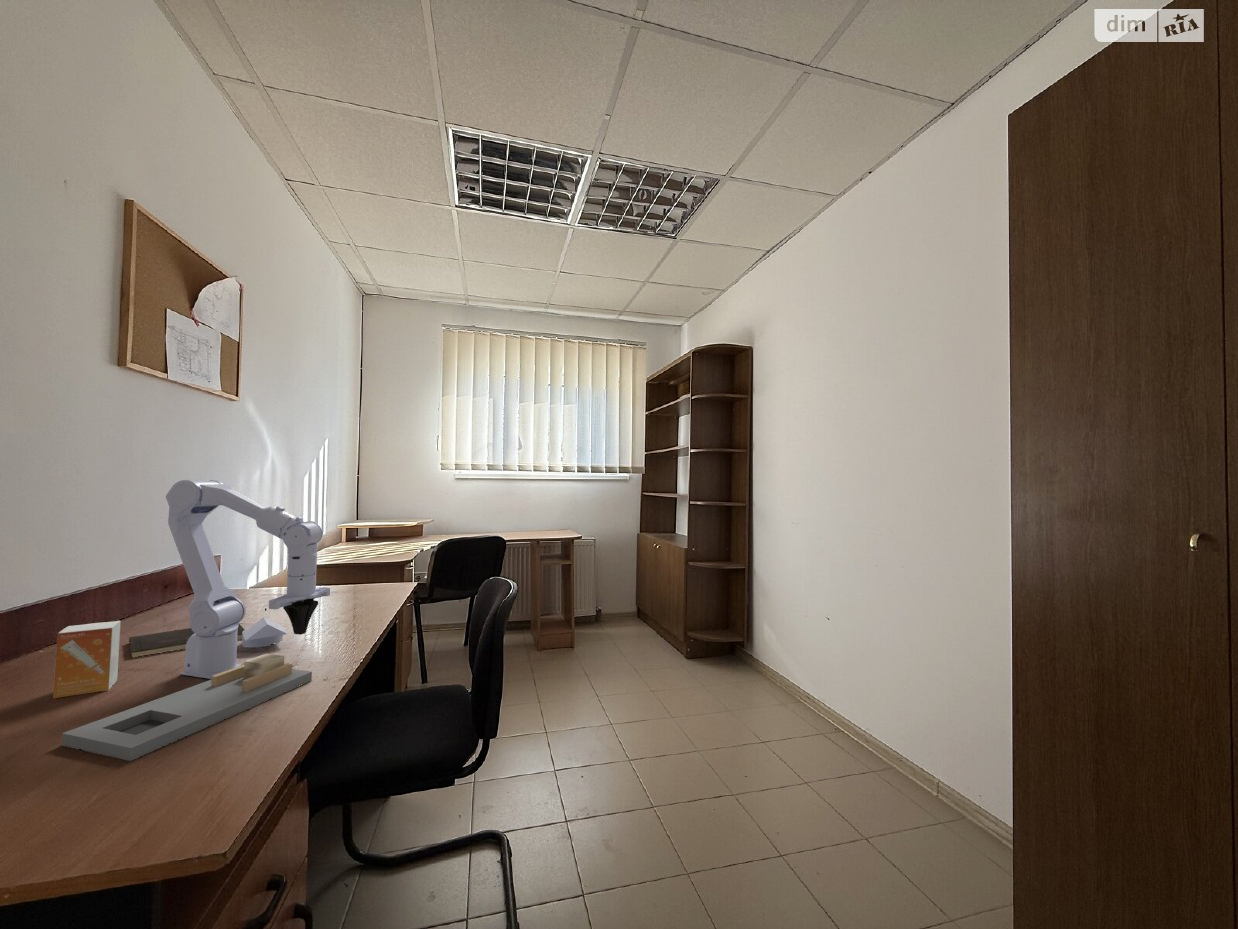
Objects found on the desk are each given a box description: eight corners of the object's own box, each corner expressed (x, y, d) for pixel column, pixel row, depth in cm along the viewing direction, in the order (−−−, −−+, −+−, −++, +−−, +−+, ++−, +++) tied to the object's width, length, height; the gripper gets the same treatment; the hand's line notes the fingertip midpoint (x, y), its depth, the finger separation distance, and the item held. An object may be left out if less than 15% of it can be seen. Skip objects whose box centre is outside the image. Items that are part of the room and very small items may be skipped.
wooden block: (243, 678, 106) (244, 661, 106) (265, 669, 111) (266, 653, 111) (262, 680, 104) (262, 663, 105) (283, 672, 109) (284, 656, 109)
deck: (61, 745, 82) (62, 720, 82) (255, 672, 114) (255, 655, 114) (130, 761, 78) (131, 735, 78) (311, 681, 110) (312, 662, 110)
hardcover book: (247, 641, 138) (247, 632, 138) (130, 661, 122) (131, 651, 122) (236, 628, 149) (236, 620, 149) (128, 645, 133) (129, 636, 133)
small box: (52, 699, 99) (55, 633, 99) (64, 688, 104) (67, 625, 105) (109, 690, 103) (112, 627, 104) (118, 680, 109) (121, 619, 109)
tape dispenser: (287, 647, 132) (280, 635, 142) (288, 621, 132) (281, 611, 142) (244, 654, 126) (240, 641, 136) (245, 627, 126) (241, 616, 136)
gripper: (287, 581, 108) (285, 644, 108) (340, 570, 122) (339, 626, 122) (262, 579, 110) (259, 641, 110) (317, 568, 124) (315, 624, 124)
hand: (299, 633), depth 116 cm, fingers closed
